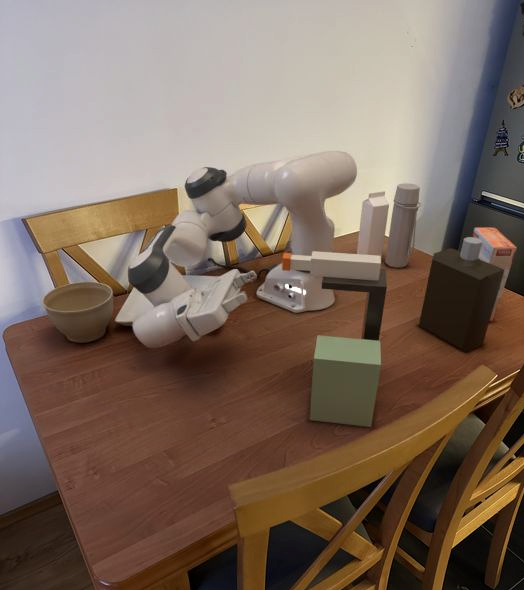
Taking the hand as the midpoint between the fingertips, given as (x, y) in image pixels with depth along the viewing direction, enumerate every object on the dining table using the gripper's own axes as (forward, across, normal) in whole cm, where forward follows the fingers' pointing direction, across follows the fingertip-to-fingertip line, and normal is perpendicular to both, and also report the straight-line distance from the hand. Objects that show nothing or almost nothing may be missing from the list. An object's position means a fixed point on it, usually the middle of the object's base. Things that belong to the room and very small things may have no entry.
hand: (250, 284), depth 100 cm
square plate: (-33, -24, -6) cm, 41 cm away
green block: (+7, +11, -29) cm, 32 cm away
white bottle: (+16, 0, -5) cm, 16 cm away
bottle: (+29, -22, -42) cm, 56 cm away
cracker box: (+37, -38, -46) cm, 70 cm away
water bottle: (+20, -64, -36) cm, 76 cm away
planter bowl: (-49, -8, +4) cm, 50 cm away
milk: (+12, -67, -32) cm, 75 cm away
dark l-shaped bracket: (+7, 0, -29) cm, 29 cm away
